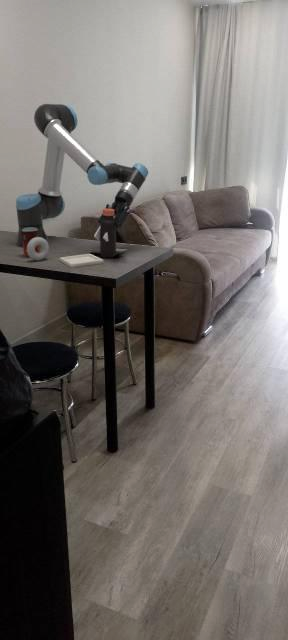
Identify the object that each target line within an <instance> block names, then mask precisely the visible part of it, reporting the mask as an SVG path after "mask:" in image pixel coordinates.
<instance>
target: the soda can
mask: <svg viewBox="0 0 288 640" xmlns="http://www.w3.org/2000/svg"><path fill="white" fill-rule="evenodd" d="M35 237H39V235H38V229H36V228H34V227H27V228H24V229H23V230H22V240H23V246H22V247H23V254H24V256H25V257H26V258H30V257H29V255H28V253H27V245H28V243H29V242H30V240H31V239H33V238H35ZM35 251H36V252H37V253H39V252H40V251H41V246H39V245H37V246H36V247H35Z"/></svg>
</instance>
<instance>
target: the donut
mask: <svg viewBox="0 0 288 640" xmlns="http://www.w3.org/2000/svg"><path fill="white" fill-rule="evenodd" d="M37 245H40V252H39V253H37V252H36V251H35V247H36V246H37ZM27 253H28V255H29V257H28V258H30V259H31V260H34V261H43V260H44V259H46V258H47V256H48V255H49V253H50V245H49V242H48V243H47V241H46V240H45V239H44V238H41V237H35V238H33V239H31V240H30V242H29V243H28V245H27Z"/></svg>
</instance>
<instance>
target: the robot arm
mask: <svg viewBox="0 0 288 640" xmlns="http://www.w3.org/2000/svg"><path fill="white" fill-rule="evenodd" d="M33 115H34V116H33V119H34V124H35V126H36V129H37V130H38V131H39V132H40V133H41V134H42V135H43V136H44V137H45V138H46V139H47V144H46V152H45V153H46V154H45V161H44V167H43V168H44V169H43V175H42V176H43V177H42V183H41V184H42V185H41V187H40V188H38V190H37V193H27V194H21V195H20V196H18V197H16V200H15V202H16V203H15V204H16V205H15V207H16V214H17V216H16V217H17V223H18V230H17V236H16V240H15V241H16V246H17V247H23V240H22V230H23V229H24V228H27V227H34V228H36V229H38V235H39V237H41V238H44V239H45V240H46V241H47V243H48V244H49V238H48V236H47V234H46V230H45V229H44V224H43V221H45V220H49V219H55V218H57V217H59V216H61V215H62V214H63V212H64V210H65V206H66V205H65V204H66V203H65V200H64V197H63V196H62V195H63V194H62V192H61V190H60V189H61V181H62V176H63V175H62V173H63V168H64V167H63V166H64V160H65V154H66V155H67V156H68V157H69V158H70V159H71V160H72V161H73V162H75V164H76V165H78V166H79V167H80V169H82V170H83V171H84V172H85V173H86V175H87V179H88V182H89V184H91V185H94V186H101V185H106V184H112V183H113V184H114V183H120V184H122V185H121V187H120V188H119V190H118V191H117V193H116V195H115V197H114V202H112V204H109V203H107V204H106V206H105V208H104V209H114V217H113V218H114V219H115V221H116V225H115V229H116V230H117V229H120V228H122V226H123V225H124V223H125V221H126V220H127V218H128V216H129V214H130V213H131V212H132V211H133V210H132V208H131V205H132V203H133V202H134V200H135V198H136V196H137V195H138V193H139V191H140V189H141V187H142V186H143V185H144V183H145V181H146V179H147V177H148V175H149V169H148V168H147V167H146V166H145V165H143V164H142V163H139V162H137V163H134V164H133V165H132V167H131V166H125V165H121V164H118V163H115V162H108V163H107V164H105V165H104V164H103V163H102V162H101V161H99V159H97V157H96V156H94V155H93V154H92V153H91V152H90V151H89V150H88V149H87V148H86V147H85V146H84V145H83V144H82V143H81V142H80V141H78V139H77V138H75V137H74V135H72V134H71V133H72V132H73V131H74V130H76V128H77V126H78V117H77V113H76V111H75V110H74V108H72V107H71V106H69V105H67V104H66V105H65V104H61V103H60V104H59V103H56V104H54V103H44V104H41V105H40V106H38V107H37V108H36V110H35V111H34V114H33ZM102 219H103V212H102V213H101V215H100V216H99V219H98V220H97V223H98V224H99V225H98V227H97V229H96V232H95V233H94V236H93V237H94V238H95V239H96V240H98V241H100V221H101V220H102ZM110 233H111V234H113V232H112V231H111V232H110ZM103 238H104V239H105V240H106V241H107V242H108V232H107V233H105V235H104V237H103ZM39 246H40V245H39ZM40 247H41V246H40Z"/></svg>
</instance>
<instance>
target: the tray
mask: <svg viewBox="0 0 288 640" xmlns="http://www.w3.org/2000/svg"><path fill="white" fill-rule="evenodd" d="M59 262H61V263H63V264H64V265H66V266H67V267H69V268H71V269H75V268H81V267H88V266H94V265H103V264H104V259H102V258H100V257H98V256H95V255H94V254H91V253H85V254H76V255H70V256H69V255H68V256H64V257H63V256H62V257H59Z"/></svg>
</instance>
